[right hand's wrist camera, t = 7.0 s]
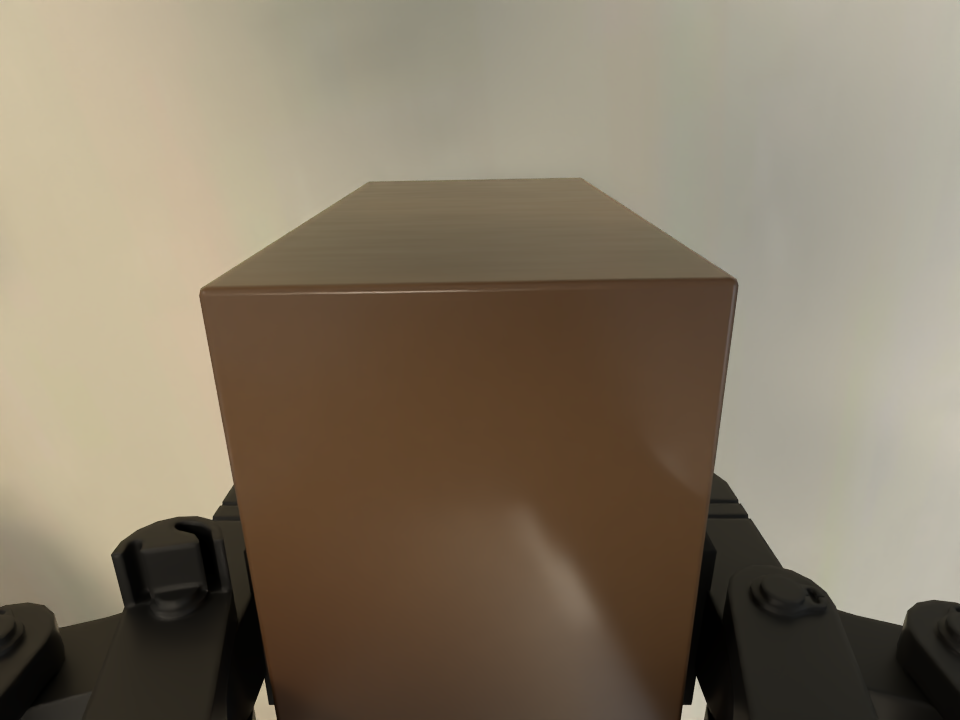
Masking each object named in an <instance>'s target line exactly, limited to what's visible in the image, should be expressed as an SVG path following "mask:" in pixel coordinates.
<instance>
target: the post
mask: <svg viewBox="0 0 960 720" xmlns="http://www.w3.org/2000/svg"><path fill="white" fill-rule="evenodd" d="M737 293H738V282H737V279H736V278H734V277H733V276H731V275H730V274H728V273H727V272H725V271H723V270H722V269H720V268H719V267H717V266H716V265H714V264H713V263H711V262H710V261H708V260H707V259H705V258H704V257H702V256H700V255H699V254H697V253H696V252H694V251H693V250H691V249H690V248H688V247H687V246H685V245H684V244H682V243H680V242H679V241H677V240H676V239H674V238H673V237H671V236H670V235H668V234H667V233H665V232H664V231H662V230H661V229H659V228H657V227H656V226H654V225H653V224H651V223H650V222H648V221H647V220H645V219H644V218H642V217H641V216H639V215H638V214H636V213H634V212H633V211H631V210H630V209H628V208H627V207H625V206H624V205H622V204H621V203H619V202H618V201H616V200H615V199H613V198H611V197H610V196H608V195H607V194H605V193H604V192H602V191H601V190H599V189H598V188H596V187H595V186H593V185H591V184H590V183H588V182H587V181H585V180H584V179H582V178H542V179H488V180H434V181H380V182H368V183H366V184H364V185H363V186H361V187H360V188H358V189H357V190H355V191H353V192H352V193H350V194H349V195H347V196H346V197H344V198H342V199H341V200H339V201H338V202H336V203H335V204H333V205H331V206H330V207H328V208H327V209H325V210H324V211H322V212H320V213H319V214H317V215H316V216H314V217H313V218H311V219H309V220H308V221H306V222H305V223H303V224H302V225H300V226H298V227H297V228H295V229H294V230H292V231H291V232H289V233H287V234H286V235H284V236H283V237H281V238H280V239H278V240H276V241H275V242H273V243H272V244H270V245H269V246H267V247H265V248H264V249H262V250H261V251H259V252H258V253H256V254H254V255H253V256H251V257H250V258H248V259H247V260H245V261H243V262H242V263H240V264H239V265H237V266H235V267H234V268H232V269H231V270H229V271H228V272H226V273H224V274H223V275H221V276H220V277H218V278H217V279H215V280H213V281H212V282H210V283H209V284H207V285H206V286H204V287H202V288H201V290H200V294H199V297H200V302H201V308H202V313H203V319H204V324H205V329H206V335H207V340H208V346H209V351H210V357H211V362H212V368H213V373H214V378H215V384H216V389H217V395H218V400H219V406H220V411H221V417H222V422H223V427H224V433H225V438H226V444H227V449H228V455H229V460H230V465H231V471H232V476H233V482H234V487H235V493H236V498H237V504H238V509H239V514H240V520H241V525H242V531H243V536H244V542H245V547H246V553H247V558H248V563H249V569H250V574H251V580H252V585H253V591H254V596H255V602H256V607H257V612H258V618H259V623H260V629H261V634H262V640H263V645H264V651H265V656H266V661H267V667H268V672H269V678H270V683H271V689H272V694H273V700H274V705H275V710H276V716H277V720H681V713H682V706H683V698H684V691H685V683H686V676H687V668H688V661H689V653H690V646H691V638H692V631H693V623H694V616H695V608H696V601H697V593H698V586H699V578H700V571H701V563H702V556H703V548H704V541H705V533H706V526H707V518H708V511H709V503H710V495H711V488H712V480H713V473H714V465H715V458H716V450H717V443H718V435H719V428H720V420H721V413H722V405H723V398H724V390H725V383H726V375H727V368H728V360H729V353H730V345H731V338H732V330H733V323H734V315H735V308H736V300H737Z"/></svg>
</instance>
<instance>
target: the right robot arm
mask: <svg viewBox="0 0 960 720" xmlns="http://www.w3.org/2000/svg"><path fill="white" fill-rule="evenodd" d="M111 556H112V560H113V564H114V568H115V572H116V576H117V580H118V583H119V587H120V591H121V595H122V599H123V603H124V606H125V607H124V610H123V612H122V613H120V614H116V615H113V616H110V617H106V618H102V619H98V620H93V621H89V622H84V623H80V624H75V625H71V626H67V627H62V628H58V625H57V622H56V619H55V615H54V613H53V612H52V611H50V610H49V609H48V608H47V607H46V606H45V605H39V604H33V603H20V604H11V605H5V606H2V607H0V720H256V717H255V712H254V704H255V702H256V699H257V696H258V694H259V691H260V688H261V686H262V683H263V681H264V678H265V683H266V689H267V695H268V701H269V705H274V700H273V694H272V689H271V683H270V678H269V672H268V667H267V661H266V656H265V651H264V645H263V640H262V634H261V629H260V623H259V618H258V612H257V607H256V602H255V596H254V591H253V585H252V580H251V574H250V569H249V563H248V558H247V553H246V547H245V542H244V536H243V531H242V525H241V520H240V514H239V509H238V504H237V498H236V493H235V487H234V485H233V487H232V488H231V490H230V491H229V493H228V494H227V496H226V497H225V499H224V501H223V504H222V506H220V507H219V508H218V510H217V511H216V513H215V514H214V516H213V520H210V519H206V518H202V517H198V516H189V517H175V518H171V519H166V520H162V521H157V522H155V523H153V524H151V525H148V526H146V527H144V528H141V529H139V530H137V531H136V532H134V533H133V534H131V535H130V536H128V537H127V538H126V539H124V540H123V541H121V542H120V544H119V545H118V546H117V548H116V549H115V550H114V552H113V553H112V554H111ZM696 676H697V679H698V681H699V684H700V687H701V689H702V692H703V695H704V697H705V700H706V702H707V706H706V712H705V717H704V720H960V604H958V603H955V602H947V601H939V600H930V601H925V602H919V603H916V604H915V605H914V606H913V607H912V608H910V609H909V610H908V611H907V614H906V617H905V621H904V624H903V626H901V625H897V624H892V623H888V622H883V621H879V620H874V619H870V618H866V617H861V616H857V615H853V614H850V613H846V612H843V611H840V610H837V609H836V606H835V605H834V603H833V602H832V600H831V599H830V597H829V596H828V594H827V593H826V592H825V591H824V590H823V589H822V588H820V587H819V586H818V585H817V584H816V583H814V582H813V581H812V580H810V579H808V578H806V577H804V576H802V575H800V574H798V573H796V572H794V571H792V570H788V569H784V568H783V567H782V566H781V564H780V562H779V561H778V559H777V558H776V556H775V555H774V553H773V552H772V550H771V549H770V547H769V546H768V544H767V543H766V541H765V540H764V538H763V537H762V535H761V534H760V532H759V531H758V529H757V528H756V526H755V525H754V523H753V521H752V520H751V519H748V514H747V512H746V511H745V509H744V508H743V506H742V505H741V504H739V503H738V499H737V497H736V496H735V494H734V493H733V491H732V490H731V488H730V487H729V485H728V483H727V482H726V481H724V480H723V479H722V478H720V477H719V476H717V475H716V474H715V473H713V480H712V488H711V495H710V503H709V511H708V518H707V526H706V533H705V541H704V548H703V556H702V563H701V571H700V578H699V586H698V593H697V601H696V608H695V616H694V623H693V631H692V638H691V646H690V653H689V661H688V668H687V676H686V683H685V691H684V698H683V705H691V704H692V698H693V692H694V686H695V680H696Z"/></svg>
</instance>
